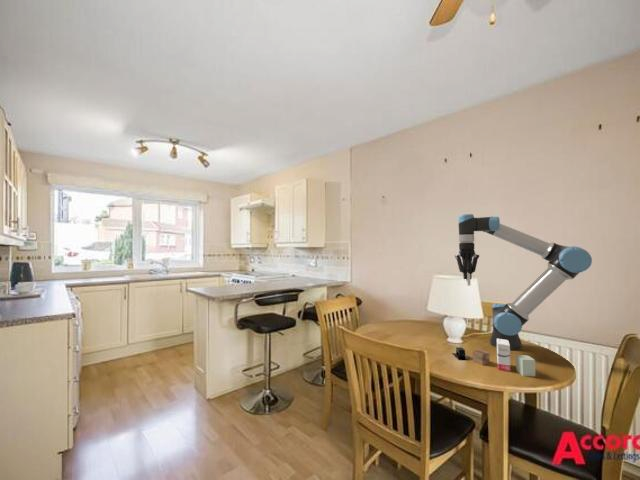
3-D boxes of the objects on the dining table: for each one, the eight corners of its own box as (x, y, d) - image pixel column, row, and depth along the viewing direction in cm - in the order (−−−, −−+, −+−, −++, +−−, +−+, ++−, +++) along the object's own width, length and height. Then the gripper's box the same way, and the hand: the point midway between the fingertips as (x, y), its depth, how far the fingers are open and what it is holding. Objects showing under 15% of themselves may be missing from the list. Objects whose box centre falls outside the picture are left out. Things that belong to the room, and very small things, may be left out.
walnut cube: (480, 359, 141) (480, 349, 141) (489, 363, 136) (489, 352, 136) (472, 361, 139) (472, 351, 139) (482, 365, 134) (481, 354, 135)
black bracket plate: (473, 362, 139) (473, 353, 139) (457, 362, 139) (457, 353, 139) (462, 353, 151) (462, 344, 151) (448, 353, 151) (448, 344, 152)
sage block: (528, 371, 127) (528, 355, 128) (535, 376, 122) (535, 360, 123) (516, 370, 128) (516, 355, 128) (522, 375, 123) (522, 359, 123)
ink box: (511, 371, 127) (510, 345, 127) (498, 369, 130) (497, 343, 130) (509, 364, 135) (508, 339, 135) (496, 362, 137) (496, 338, 137)
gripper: (474, 242, 162) (475, 284, 162) (451, 242, 161) (452, 284, 161) (482, 242, 154) (483, 285, 154) (458, 242, 154) (459, 286, 153)
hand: (467, 285), depth 157 cm, fingers closed
